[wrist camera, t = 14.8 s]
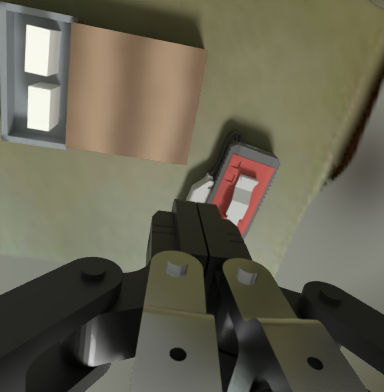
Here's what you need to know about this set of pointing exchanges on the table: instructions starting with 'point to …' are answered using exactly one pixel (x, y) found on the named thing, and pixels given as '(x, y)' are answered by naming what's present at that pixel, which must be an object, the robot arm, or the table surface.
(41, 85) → the tile
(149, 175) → the table surface
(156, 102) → the tan flat block
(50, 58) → the tile
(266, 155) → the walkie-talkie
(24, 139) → the box
